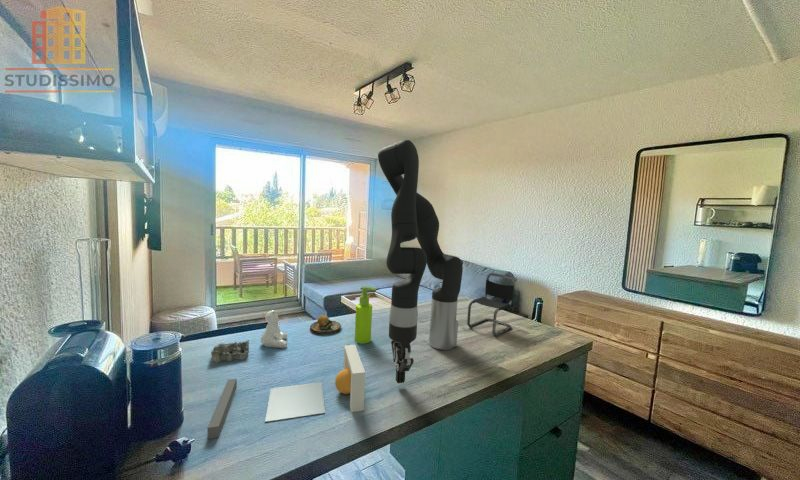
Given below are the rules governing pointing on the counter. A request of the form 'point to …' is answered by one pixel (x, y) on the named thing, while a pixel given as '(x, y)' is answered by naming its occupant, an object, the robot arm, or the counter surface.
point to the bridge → (355, 377)
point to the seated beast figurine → (273, 332)
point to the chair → (498, 292)
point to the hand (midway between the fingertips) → (400, 381)
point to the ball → (343, 381)
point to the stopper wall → (222, 409)
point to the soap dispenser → (363, 318)
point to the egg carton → (223, 351)
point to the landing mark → (295, 402)
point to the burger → (325, 326)
